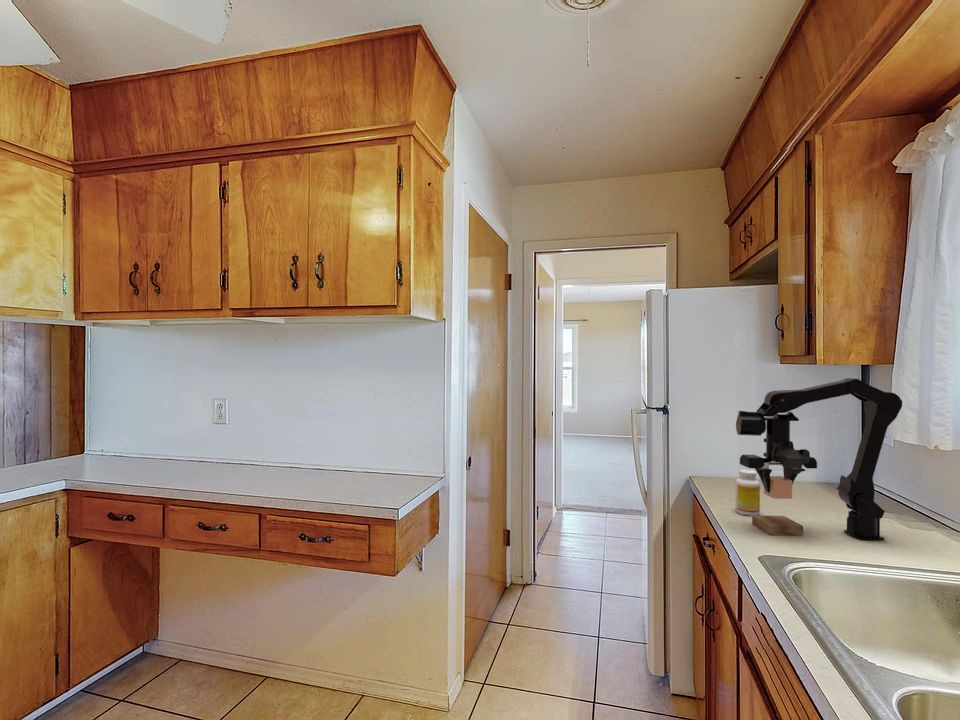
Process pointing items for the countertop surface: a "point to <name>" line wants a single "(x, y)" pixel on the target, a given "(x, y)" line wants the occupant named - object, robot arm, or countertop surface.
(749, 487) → the supplement bottle
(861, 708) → the countertop surface
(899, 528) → the countertop surface
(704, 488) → the countertop surface
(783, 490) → the cube
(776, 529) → the brown block
